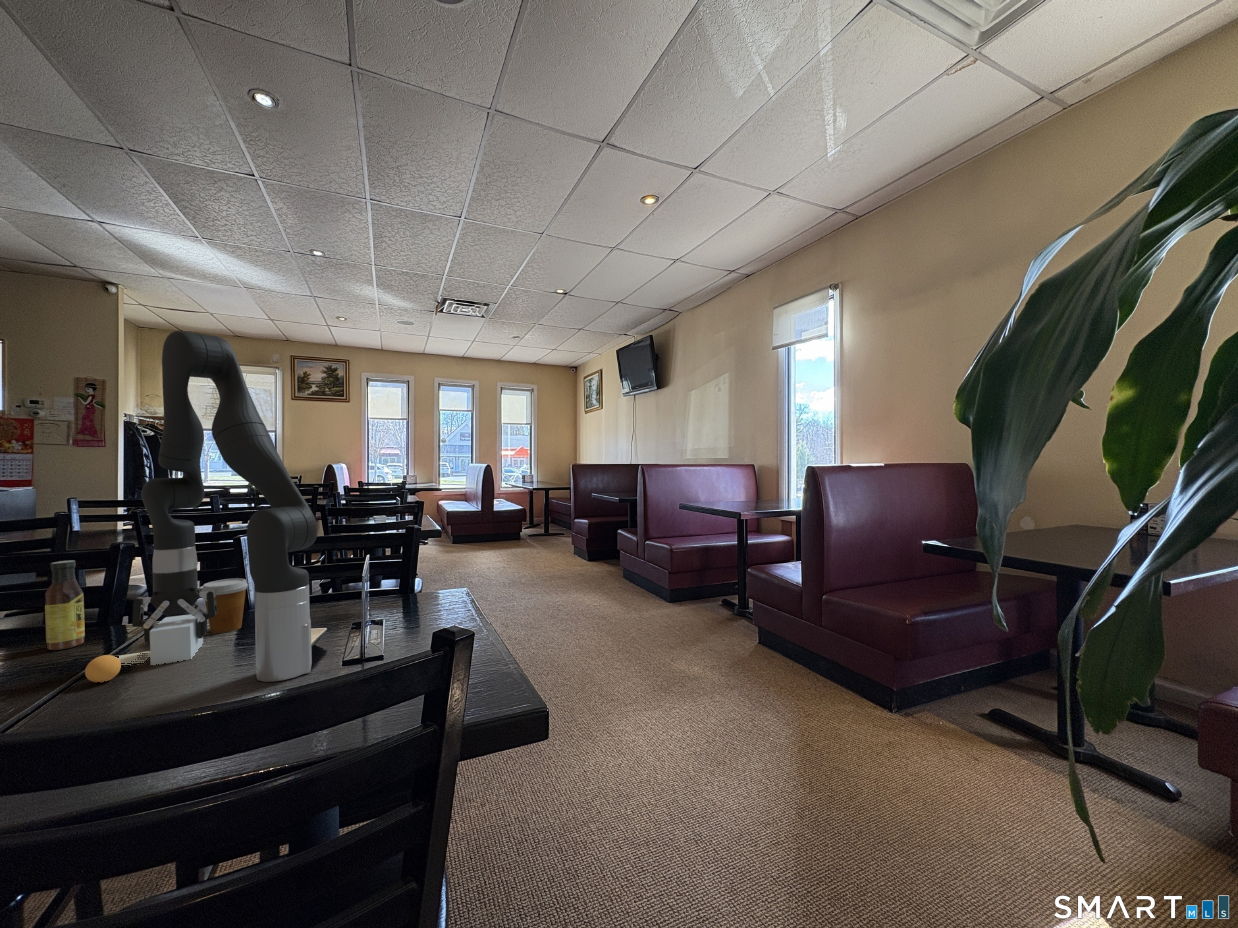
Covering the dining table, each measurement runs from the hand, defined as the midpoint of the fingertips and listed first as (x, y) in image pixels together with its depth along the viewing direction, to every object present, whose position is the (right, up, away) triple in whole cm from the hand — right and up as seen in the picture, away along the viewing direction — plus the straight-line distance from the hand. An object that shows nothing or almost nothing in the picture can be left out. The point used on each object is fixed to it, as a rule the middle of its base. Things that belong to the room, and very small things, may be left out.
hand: (176, 640), depth 116 cm
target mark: (-8, -3, -3) cm, 9 cm away
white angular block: (0, -3, 0) cm, 3 cm away
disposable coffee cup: (-2, -3, +17) cm, 17 cm away
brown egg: (-3, -1, -14) cm, 14 cm away
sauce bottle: (-31, -4, +6) cm, 32 cm away
